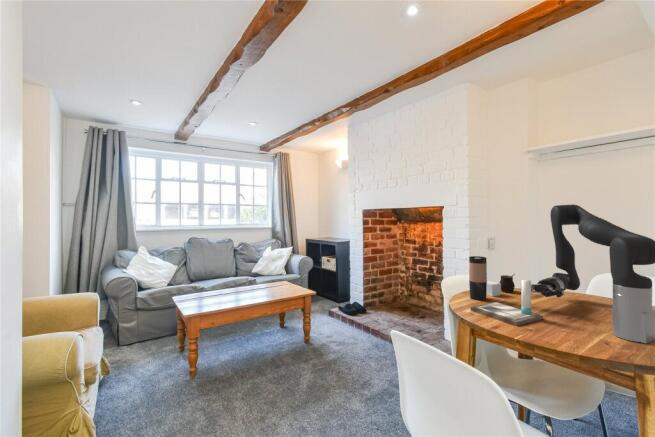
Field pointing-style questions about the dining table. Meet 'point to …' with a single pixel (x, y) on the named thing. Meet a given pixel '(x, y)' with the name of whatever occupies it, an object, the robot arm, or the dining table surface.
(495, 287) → the white cube
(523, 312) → the cylinder
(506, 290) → the mate gourd
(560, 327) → the dining table surface
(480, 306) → the board
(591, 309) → the dining table surface
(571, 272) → the robot arm
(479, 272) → the travel mug
